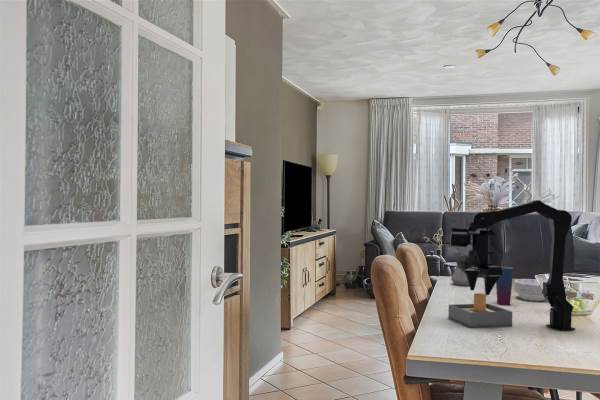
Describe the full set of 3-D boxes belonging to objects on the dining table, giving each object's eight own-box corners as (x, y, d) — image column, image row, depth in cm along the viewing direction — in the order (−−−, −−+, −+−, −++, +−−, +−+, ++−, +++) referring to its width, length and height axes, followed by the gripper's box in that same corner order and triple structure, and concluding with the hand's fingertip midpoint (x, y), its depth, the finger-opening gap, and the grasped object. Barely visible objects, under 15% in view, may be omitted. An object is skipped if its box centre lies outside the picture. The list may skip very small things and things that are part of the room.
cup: (514, 306, 214) (514, 269, 214) (496, 305, 215) (497, 268, 215) (510, 303, 221) (511, 267, 221) (493, 302, 222) (494, 266, 222)
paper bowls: (530, 303, 221) (530, 284, 221) (506, 296, 236) (506, 279, 236) (560, 302, 225) (560, 283, 225) (535, 295, 240) (535, 278, 240)
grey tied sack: (451, 282, 274) (452, 253, 274) (474, 284, 270) (475, 254, 270) (449, 289, 254) (449, 257, 254) (474, 290, 250) (475, 259, 250)
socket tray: (512, 326, 179) (512, 311, 179) (469, 328, 175) (470, 313, 175) (488, 317, 193) (488, 303, 193) (448, 318, 189) (448, 304, 189)
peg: (487, 321, 183) (488, 295, 183) (477, 321, 182) (478, 295, 182) (481, 318, 186) (481, 293, 186) (471, 318, 186) (471, 293, 185)
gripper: (446, 245, 191) (445, 288, 191) (474, 250, 173) (473, 298, 173) (473, 245, 194) (472, 287, 194) (504, 250, 176) (503, 297, 176)
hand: (479, 292), depth 184 cm, fingers open, 9 cm apart
